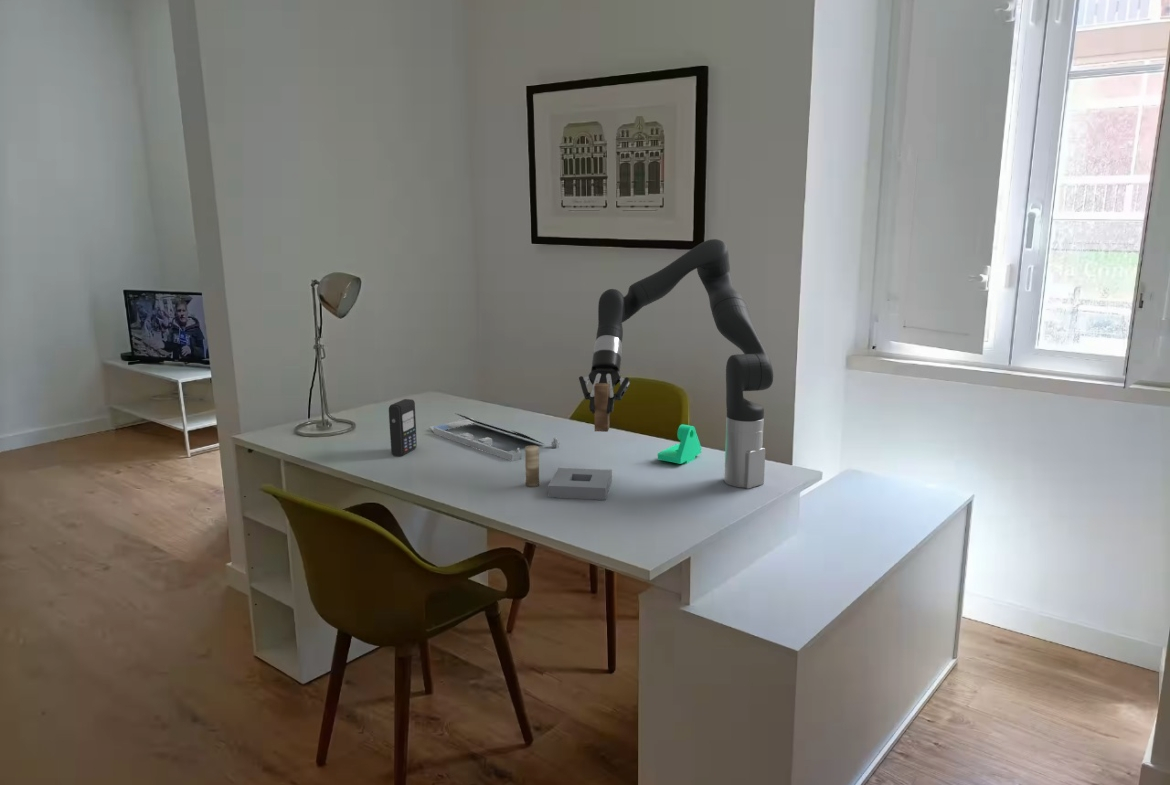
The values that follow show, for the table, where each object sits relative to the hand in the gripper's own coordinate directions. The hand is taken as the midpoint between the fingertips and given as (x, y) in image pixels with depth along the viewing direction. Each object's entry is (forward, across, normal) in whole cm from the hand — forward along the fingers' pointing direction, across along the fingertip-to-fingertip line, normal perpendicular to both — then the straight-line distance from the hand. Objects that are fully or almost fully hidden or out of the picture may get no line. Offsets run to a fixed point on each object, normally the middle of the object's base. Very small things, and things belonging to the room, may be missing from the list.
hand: (600, 412), depth 212 cm
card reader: (+3, +59, -23) cm, 64 cm away
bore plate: (+19, +4, -6) cm, 20 cm away
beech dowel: (+18, +16, -7) cm, 25 cm away
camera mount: (-1, -19, -27) cm, 33 cm away
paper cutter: (-9, +39, -36) cm, 53 cm away
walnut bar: (+2, 0, -5) cm, 6 cm away
